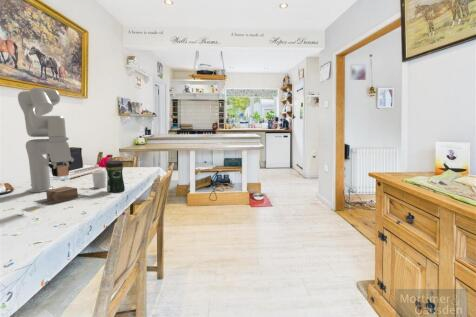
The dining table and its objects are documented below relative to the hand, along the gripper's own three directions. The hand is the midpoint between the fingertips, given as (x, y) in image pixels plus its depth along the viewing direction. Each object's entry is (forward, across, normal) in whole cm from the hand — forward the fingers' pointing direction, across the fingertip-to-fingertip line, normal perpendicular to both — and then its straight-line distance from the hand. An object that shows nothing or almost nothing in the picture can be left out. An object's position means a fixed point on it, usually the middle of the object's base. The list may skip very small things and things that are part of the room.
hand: (60, 174), depth 143 cm
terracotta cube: (+1, 0, 0) cm, 1 cm away
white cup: (+14, -32, -14) cm, 38 cm away
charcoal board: (+14, 0, 0) cm, 14 cm away
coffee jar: (+14, -28, +6) cm, 32 cm away
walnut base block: (+13, 0, 0) cm, 13 cm away
